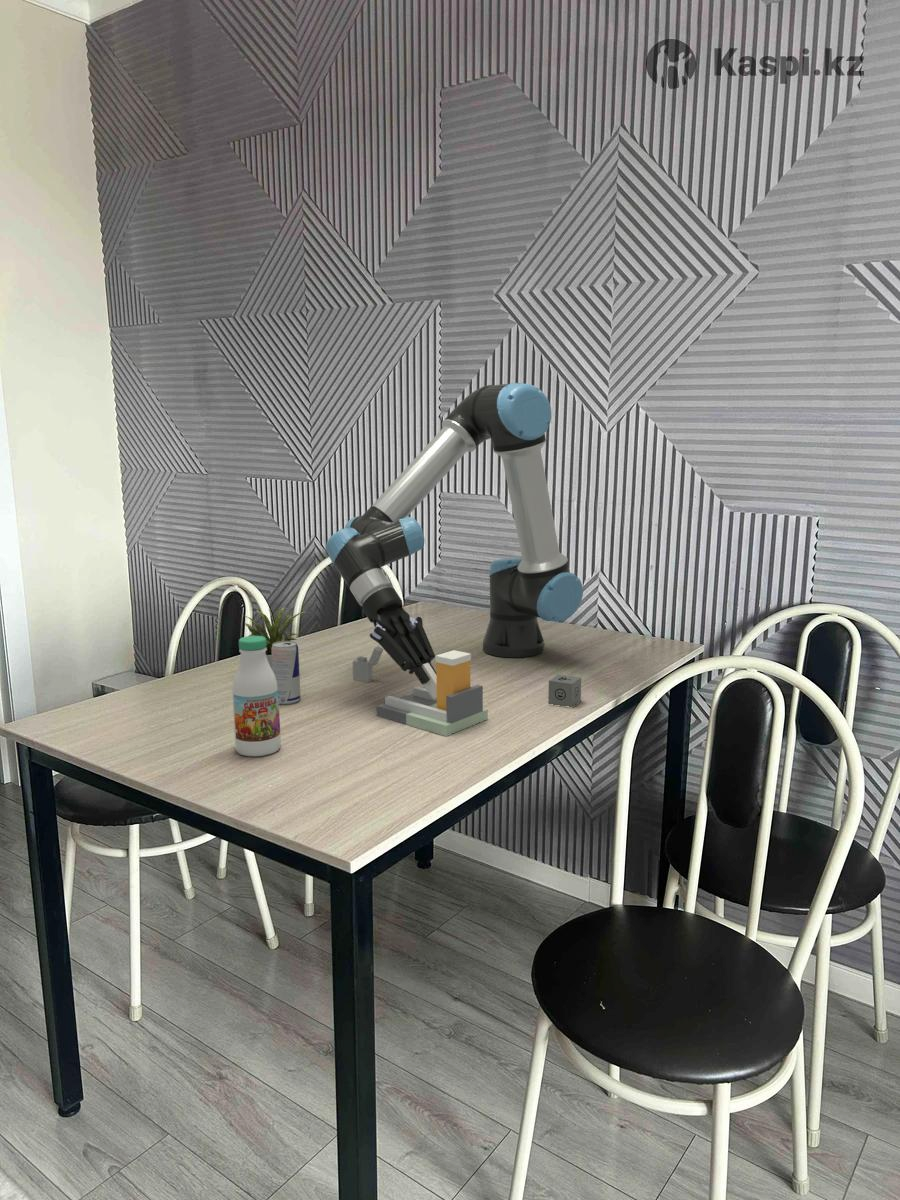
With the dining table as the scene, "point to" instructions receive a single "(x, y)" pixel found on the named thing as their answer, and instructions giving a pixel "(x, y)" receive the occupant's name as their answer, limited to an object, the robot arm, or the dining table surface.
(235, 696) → the milk bottle
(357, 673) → the lighter
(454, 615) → the dining table surface
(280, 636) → the house plant
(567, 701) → the dice cube
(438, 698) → the block
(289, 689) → the energy drink
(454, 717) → the grey rail tray
